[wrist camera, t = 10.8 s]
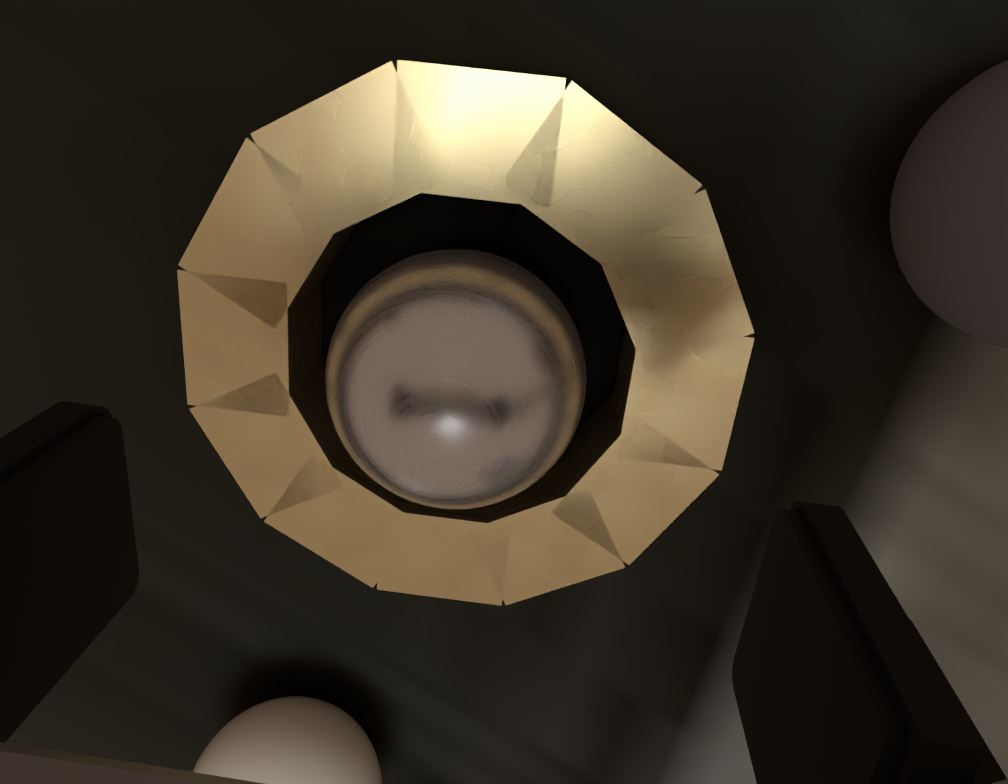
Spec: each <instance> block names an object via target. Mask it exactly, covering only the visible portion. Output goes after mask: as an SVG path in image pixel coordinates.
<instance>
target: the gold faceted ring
mask: <svg viewBox="0 0 1008 784" xmlns="http://www.w3.org/2000/svg"><path fill="white" fill-rule="evenodd" d="M565 84H566V78H564V77H555V76H546V75H536V74H527V73H518V72H509V71H500V70H491V69H481V68H472V67H463V66H454V65H445V64H435V63H426V62H416V61H406V60H397V61H390V62H388V63H386V64H384V65H382V66H381V67H379V68H377V69H375V70H373V71H371V72H369V73H367V74H365V75H363V76H361V77H359V78H357V79H355V80H353V81H351V82H349V83H348V84H346V85H344V86H342V87H340V88H338V89H336V90H334V91H332V92H330V93H328V94H326V95H324V96H322V97H320V98H318V99H317V100H315V101H313V102H311V103H309V104H307V105H305V106H303V107H301V108H299V109H297V110H295V111H293V112H291V113H289V114H287V115H286V116H284V117H282V118H280V119H278V120H276V121H274V122H272V123H270V124H268V125H266V126H264V127H262V128H260V129H258V130H256V131H255V132H253V133H251V136H252V137H247V138H246V139H245V141H244V143H243V145H242V147H241V149H240V150H239V152H238V154H237V156H236V158H235V160H234V162H233V163H232V165H231V167H230V169H229V171H228V173H227V175H226V177H225V178H224V180H223V182H222V184H221V186H220V188H219V190H218V191H217V193H216V195H215V197H214V199H213V201H212V203H211V204H210V206H209V208H208V210H207V212H206V214H205V216H204V218H203V219H202V221H201V223H200V225H199V227H198V229H197V231H196V232H195V234H194V236H193V238H192V240H191V242H190V244H189V246H188V247H187V249H186V251H185V253H184V255H183V257H182V259H181V260H180V262H179V264H178V265H179V266H181V267H182V268H180V269H178V270H177V275H178V288H179V300H180V313H181V326H182V339H183V352H184V365H185V377H186V390H187V403H188V405H193V406H192V407H191V408H190V409H189V410H190V411H191V413H192V414H193V416H194V417H195V419H196V420H197V422H198V423H199V425H200V426H201V428H202V429H203V431H204V432H205V434H206V436H207V437H208V439H209V440H210V442H211V443H212V445H213V446H214V448H215V449H216V451H217V452H218V454H219V455H220V457H221V459H222V460H223V462H224V463H225V465H226V466H227V468H228V469H229V471H230V472H231V474H232V475H233V477H234V478H235V480H236V481H237V483H238V485H239V486H240V488H241V489H242V491H243V492H244V494H245V495H246V497H247V498H248V500H249V501H250V503H251V504H252V506H253V507H254V509H255V511H256V512H257V514H258V515H259V517H260V518H262V517H265V516H267V518H266V519H265V521H264V522H266V523H267V524H269V525H270V526H272V527H274V528H275V529H277V530H279V531H280V532H282V533H284V534H285V535H287V536H288V537H290V538H292V539H293V540H295V541H297V542H298V543H300V544H302V545H303V546H305V547H306V548H308V549H310V550H311V551H313V552H315V553H316V554H318V555H320V556H321V557H323V558H324V559H326V560H328V561H329V562H331V563H333V564H334V565H336V566H338V567H339V568H341V569H342V570H344V571H346V572H347V573H349V574H351V575H352V576H354V577H356V578H357V579H359V580H360V581H362V582H364V583H365V584H367V585H369V586H370V587H372V588H373V587H374V586H375V584H376V583H377V590H385V591H392V592H400V593H408V594H415V595H423V596H431V597H439V598H446V599H454V600H462V601H470V602H477V603H485V604H493V605H500V606H501V605H502V599H503V601H504V602H505V604H506V605H508V604H512V603H515V602H518V601H521V600H524V599H527V598H531V597H534V596H537V595H540V594H543V593H546V592H550V591H553V590H556V589H559V588H562V587H565V586H568V585H572V584H575V583H578V582H581V581H584V580H587V579H591V578H594V577H597V576H600V575H603V574H606V573H610V572H613V571H616V570H619V569H622V568H625V563H627V564H628V565H630V564H631V563H632V562H633V561H634V560H635V559H636V558H637V557H638V556H639V555H640V554H641V553H642V552H643V551H644V550H645V549H646V548H647V547H648V546H649V545H650V544H651V543H652V542H653V541H654V540H655V539H656V538H657V537H658V536H659V535H660V534H661V533H662V532H663V531H664V530H665V529H666V528H667V527H668V526H669V525H670V524H671V523H672V522H673V521H674V520H675V519H676V518H677V517H678V516H679V515H680V514H681V513H682V512H683V511H684V510H685V509H686V508H687V507H688V506H689V505H690V504H691V503H692V502H693V501H694V500H695V499H696V498H697V497H698V496H699V495H700V494H701V493H702V492H703V491H704V490H705V489H706V488H707V487H708V486H709V485H710V484H711V483H712V482H713V481H714V480H715V479H716V477H717V476H718V475H719V472H718V470H722V468H723V464H724V460H725V455H726V451H727V447H728V443H729V439H730V435H731V431H732V427H733V423H734V419H735V415H736V411H737V407H738V403H739V399H740V395H741V391H742V387H743V383H744V379H745V375H746V371H747V367H748V363H749V359H750V355H751V351H752V347H753V343H754V339H755V338H754V336H753V335H752V334H753V333H754V330H753V327H752V324H751V321H750V318H749V315H748V312H747V309H746V306H745V304H744V301H743V298H742V295H741V292H740V289H739V286H738V283H737V280H736V277H735V274H734V271H733V268H732V265H731V262H730V259H729V257H728V254H727V251H726V248H725V245H724V242H723V239H722V236H721V233H720V230H719V227H718V224H717V221H716V218H715V215H714V213H713V210H712V207H711V204H710V201H709V198H708V195H707V192H706V189H705V188H703V187H702V186H701V185H702V184H701V183H700V182H698V181H697V180H696V179H695V178H693V177H692V176H691V175H690V174H688V173H687V172H686V171H685V170H683V169H682V168H681V167H680V166H678V165H677V164H676V163H675V162H673V161H672V160H671V159H670V158H668V157H667V156H666V155H665V154H663V153H662V152H661V151H660V150H658V149H657V148H656V147H655V146H653V145H652V144H651V143H650V142H648V141H647V140H646V139H645V138H643V137H642V136H641V135H640V134H638V133H637V132H636V131H635V130H633V129H632V128H631V127H630V126H628V125H627V124H626V123H625V122H623V121H622V120H621V119H620V118H618V117H617V116H616V115H615V114H613V113H612V112H611V111H610V110H608V109H607V108H606V107H604V106H603V105H602V104H601V103H599V102H598V101H597V100H596V99H594V98H593V97H592V96H591V95H589V94H588V93H587V92H586V91H584V90H583V89H582V88H581V87H579V86H578V85H577V84H576V83H574V82H573V81H572V80H570V82H569V83H568V85H567V86H566V87H565ZM420 193H427V194H435V195H444V196H453V197H462V198H471V199H479V200H488V201H497V202H506V203H514V204H522V205H523V206H524V207H526V208H527V209H528V210H530V211H531V212H532V213H534V214H535V215H536V216H538V217H539V218H540V219H542V220H543V221H544V222H546V223H547V224H548V225H550V226H551V227H552V228H554V229H555V230H556V231H558V232H559V233H560V234H562V235H563V236H564V237H566V238H567V239H568V240H570V241H571V242H572V243H574V244H575V245H576V246H578V247H579V248H580V249H582V250H583V251H584V252H586V253H587V254H588V255H590V256H591V257H592V258H594V259H595V260H596V261H598V262H599V263H600V264H601V265H602V267H603V270H604V272H605V275H606V277H607V280H608V282H609V284H610V287H611V289H612V292H613V294H614V297H615V299H616V302H617V304H618V307H619V309H620V312H621V314H622V317H623V319H624V322H625V324H626V325H625V330H624V336H623V342H622V348H621V353H620V359H619V365H618V371H617V376H616V382H615V388H614V392H613V393H612V394H611V395H610V396H609V398H608V399H607V400H606V401H605V402H604V403H603V405H602V406H601V407H600V408H599V409H598V410H597V411H596V413H595V414H594V415H593V416H592V417H591V418H590V419H589V421H588V422H587V423H586V424H585V425H584V426H583V427H582V429H581V430H580V431H579V432H578V433H577V434H576V436H575V437H574V438H573V439H572V440H571V441H570V443H569V444H568V446H567V448H566V450H565V452H564V453H563V454H562V456H561V457H560V458H559V459H558V461H557V462H556V463H555V464H554V465H553V466H552V467H551V468H550V469H549V470H548V471H547V472H546V473H545V474H544V475H543V476H542V477H541V478H540V479H539V480H538V481H536V482H535V483H534V484H532V485H531V486H530V487H528V488H527V489H525V490H523V491H522V492H520V493H518V494H516V495H514V496H512V497H510V498H507V499H505V500H502V501H500V502H497V503H494V504H491V505H487V506H483V507H477V508H470V509H444V508H436V507H431V506H426V505H422V504H419V503H416V502H412V501H409V500H407V499H405V498H403V497H400V496H398V495H396V494H394V493H392V492H391V491H389V490H387V489H386V488H384V487H382V486H381V485H380V484H378V483H377V482H376V481H374V480H373V479H372V478H371V477H370V476H368V475H367V474H366V473H365V472H364V471H363V470H362V469H361V468H360V467H359V466H358V464H357V463H356V462H355V461H354V460H353V459H352V457H351V456H350V454H349V453H348V451H347V450H346V448H345V447H344V445H343V443H342V441H341V439H340V437H339V435H338V433H337V431H336V429H335V427H334V424H333V421H332V418H331V415H330V412H329V407H328V402H327V397H326V381H325V373H326V363H325V361H324V359H323V358H322V279H323V277H324V275H325V274H326V272H327V271H328V269H329V267H330V266H331V264H332V263H333V261H334V260H335V258H336V256H337V255H338V253H339V252H340V250H341V248H342V247H343V245H344V244H345V242H346V241H347V239H348V237H349V236H350V234H351V233H352V231H353V229H354V228H355V226H356V225H357V223H358V222H360V221H362V220H364V219H366V218H368V217H370V216H372V215H375V214H377V213H379V212H381V211H383V210H385V209H387V208H390V207H392V206H394V205H396V204H398V203H400V202H402V201H405V200H407V199H409V198H411V197H413V196H415V195H417V194H420Z"/></svg>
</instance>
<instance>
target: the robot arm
mask: <svg viewBox="0 0 1008 784" xmlns="http://www.w3.org/2000/svg"><path fill="white" fill-rule="evenodd" d="M138 578H139V567H138V559H137V550H136V542H135V534H134V525H133V517H132V508H131V500H130V492H129V483H128V475H127V466H126V458H125V450H124V441H123V433H122V427H121V424H120V422H119V421H118V420H117V419H115V418H112V416H111V414H110V412H109V411H108V409H106V408H105V407H102V406H95V405H87V404H80V403H73V402H64V401H62V402H59V403H57V404H55V405H53V406H52V407H50V408H48V409H47V410H45V411H44V412H42V413H40V414H39V415H37V416H35V417H34V418H32V419H31V420H29V421H27V422H26V423H24V424H23V425H21V426H19V427H18V428H16V429H15V430H13V431H11V432H10V433H8V434H6V435H5V436H3V437H2V438H0V784H265V783H258V782H252V781H246V780H240V779H233V778H227V777H221V776H215V775H208V774H202V773H196V772H190V771H183V770H177V769H171V768H164V767H158V766H152V765H146V764H139V763H133V762H126V761H120V760H114V759H107V758H101V757H94V756H88V755H81V754H75V753H68V752H62V751H55V750H49V749H42V748H36V747H29V746H23V745H16V744H10V743H5V742H6V740H7V739H8V738H9V737H10V736H11V735H12V734H13V732H14V731H15V730H16V729H17V728H18V727H19V725H20V724H21V723H22V722H23V721H24V720H25V719H26V717H27V716H28V715H29V714H30V713H31V712H32V711H33V709H34V708H35V707H36V706H37V705H38V704H39V702H40V701H41V700H42V699H43V698H44V697H45V696H46V694H47V693H48V692H49V691H50V690H51V689H52V687H53V686H54V685H55V684H56V683H57V682H58V681H59V679H60V678H61V677H62V676H63V675H64V674H65V673H66V671H67V670H68V669H69V668H70V667H71V666H72V664H73V663H74V662H75V661H76V660H77V659H78V658H79V656H80V655H81V654H82V653H83V652H84V651H85V649H86V648H87V647H88V646H89V645H90V644H91V643H92V641H93V640H94V639H95V638H96V637H97V636H98V635H99V633H100V632H101V631H102V630H103V629H104V628H105V626H106V625H107V624H108V623H109V622H110V621H111V620H112V618H113V617H114V616H115V615H116V614H117V613H118V611H119V610H120V609H121V608H122V607H123V606H124V605H125V603H126V602H127V601H128V600H129V599H130V597H131V596H132V595H133V593H134V591H135V589H136V586H137V583H138ZM732 680H733V688H734V692H735V696H736V700H737V704H738V708H739V712H740V716H741V721H742V725H743V729H744V733H745V737H746V741H747V745H748V749H749V753H750V757H751V761H752V765H753V769H754V773H755V777H756V782H757V784H1008V779H1007V778H1006V776H1005V775H1004V773H1003V771H1002V770H1001V768H1000V766H999V765H998V763H997V761H996V760H995V758H994V756H993V755H992V753H991V751H990V750H989V748H988V747H987V745H986V743H985V742H984V740H983V738H982V737H981V735H980V733H979V732H978V730H977V728H976V727H975V725H974V723H973V722H972V720H971V718H970V717H969V715H968V713H967V712H966V710H965V708H964V707H963V705H962V703H961V702H960V700H959V698H958V697H957V695H956V693H955V692H954V690H953V689H952V687H951V685H950V684H949V682H948V680H947V679H946V677H945V675H944V674H943V672H942V670H941V669H940V667H939V665H938V664H937V662H936V660H935V659H934V657H933V655H932V654H931V652H930V650H929V649H928V647H927V645H926V644H925V642H924V640H923V639H922V637H921V636H920V634H919V632H918V631H917V629H916V627H915V626H914V624H913V623H912V621H911V620H910V619H909V618H908V617H907V615H906V613H905V612H904V610H903V608H902V607H901V605H900V603H899V602H898V600H897V598H896V597H895V595H894V593H893V592H892V590H891V588H890V587H889V585H888V583H887V582H886V580H885V578H884V577H883V575H882V573H881V572H880V570H879V568H878V567H877V565H876V563H875V562H874V560H873V558H872V557H871V555H870V553H869V552H868V550H867V548H866V547H865V545H864V543H863V542H862V540H861V538H860V537H859V535H858V533H857V532H856V530H855V528H854V527H853V525H852V523H851V522H850V520H849V518H848V517H847V515H846V513H845V512H844V510H843V509H842V508H841V507H838V506H831V505H824V504H816V503H809V502H801V501H796V502H795V503H794V504H793V505H792V507H791V508H790V510H783V509H781V510H779V511H778V513H777V514H776V517H775V519H774V523H773V526H772V530H771V533H770V536H769V540H768V543H767V547H766V550H765V554H764V557H763V561H762V564H761V567H760V571H759V574H758V578H757V581H756V585H755V588H754V592H753V595H752V599H751V602H750V605H749V609H748V612H747V616H746V619H745V623H744V626H743V630H742V633H741V636H740V640H739V643H738V647H737V650H736V654H735V657H734V662H733V669H732Z"/></svg>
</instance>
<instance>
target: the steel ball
mask: <svg viewBox="0 0 1008 784" xmlns="http://www.w3.org/2000/svg"><path fill="white" fill-rule="evenodd" d="M325 381H326V397H327V402H328V407H329V412H330V415H331V418H332V421H333V424H334V427H335V429H336V431H337V433H338V435H339V437H340V439H341V441H342V443H343V445H344V447H345V448H346V450H347V451H348V453H349V454H350V456H351V457H352V459H353V460H354V461H355V462H356V463H357V464H358V466H359V467H360V468H361V469H362V470H363V471H364V472H365V473H366V474H367V475H368V476H370V477H371V478H372V479H373V480H374V481H376V482H377V483H378V484H380V485H381V486H382V487H384V488H386V489H387V490H389V491H391V492H392V493H394V494H396V495H398V496H400V497H403V498H405V499H407V500H409V501H412V502H416V503H419V504H422V505H426V506H431V507H436V508H444V509H470V508H477V507H483V506H487V505H491V504H494V503H497V502H500V501H502V500H505V499H507V498H510V497H512V496H514V495H516V494H518V493H520V492H522V491H523V490H525V489H527V488H528V487H530V486H531V485H532V484H534V483H535V482H536V481H538V480H539V479H540V478H541V477H542V476H543V475H544V474H545V473H546V472H547V471H548V470H549V469H550V468H551V467H552V466H553V465H554V464H555V463H556V462H557V461H558V459H559V458H560V457H561V456H562V454H563V453H564V452H565V450H566V448H567V446H568V444H569V443H570V441H571V439H572V437H573V435H574V433H575V431H576V429H577V426H578V424H579V421H580V418H581V414H582V410H583V406H584V401H585V393H586V382H587V378H586V363H585V358H584V353H583V348H582V344H581V340H580V338H579V335H578V332H577V329H576V327H575V325H574V323H573V321H572V319H571V317H570V315H569V313H568V311H567V310H566V309H565V307H564V306H563V304H562V303H561V301H560V300H559V299H558V297H557V296H556V295H555V294H554V293H553V292H552V291H551V290H550V289H549V287H548V286H547V285H546V284H545V283H543V282H542V281H541V280H540V279H539V278H538V277H536V276H535V275H534V274H533V273H531V272H530V271H528V270H526V269H525V268H523V267H522V266H520V265H518V264H516V263H514V262H512V261H510V260H508V259H506V258H503V257H500V256H497V255H494V254H491V253H488V252H483V251H477V250H472V249H444V250H434V251H429V252H425V253H420V254H417V255H414V256H411V257H408V258H406V259H403V260H401V261H399V262H397V263H396V264H394V265H392V266H390V267H388V268H387V269H385V270H384V271H382V272H381V273H379V274H378V275H377V276H375V277H374V278H373V279H371V280H370V281H369V282H368V283H367V284H366V285H365V286H364V287H363V288H362V289H361V290H360V291H359V292H358V293H357V294H356V296H355V297H354V298H353V300H352V301H351V302H350V304H349V305H348V306H347V308H346V309H345V311H344V313H343V314H342V316H341V318H340V320H339V322H338V323H337V326H336V329H335V331H334V334H333V337H332V339H331V343H330V346H329V351H328V355H327V360H326V373H325Z"/></svg>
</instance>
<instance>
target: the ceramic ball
mask: <svg viewBox="0 0 1008 784" xmlns="http://www.w3.org/2000/svg"><path fill="white" fill-rule="evenodd" d="M193 772H196V773H202V774H208V775H215V776H221V777H227V778H233V779H240V780H246V781H252V782H258V783H265V784H382V778H381V770H380V766H379V762H378V759H377V755H376V752H375V750H374V747H373V745H372V743H371V742H370V740H369V738H368V736H367V734H366V733H365V732H364V730H363V729H362V728H361V726H360V725H359V724H358V723H357V722H356V721H355V720H354V719H353V718H352V717H351V716H350V715H349V714H347V713H346V712H345V711H343V710H342V709H340V708H339V707H337V706H335V705H333V704H331V703H328V702H325V701H323V700H319V699H316V698H311V697H303V696H289V697H281V698H276V699H272V700H268V701H265V702H263V703H260V704H258V705H255V706H253V707H251V708H249V709H247V710H245V711H244V712H242V713H241V714H239V715H238V716H236V717H235V718H234V719H232V720H231V721H230V722H229V723H227V724H226V725H225V726H224V727H223V728H222V729H221V730H220V731H219V732H218V733H217V734H216V735H215V736H214V738H213V739H212V740H211V741H210V742H209V744H208V745H207V747H206V748H205V750H204V751H203V753H202V755H201V756H200V758H199V759H198V761H197V763H196V765H195V768H194V770H193Z"/></svg>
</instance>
